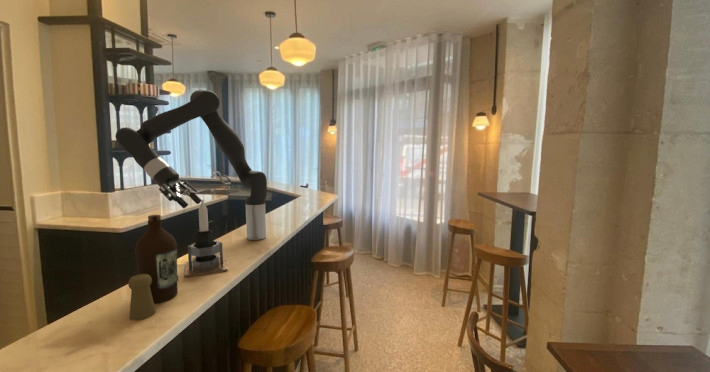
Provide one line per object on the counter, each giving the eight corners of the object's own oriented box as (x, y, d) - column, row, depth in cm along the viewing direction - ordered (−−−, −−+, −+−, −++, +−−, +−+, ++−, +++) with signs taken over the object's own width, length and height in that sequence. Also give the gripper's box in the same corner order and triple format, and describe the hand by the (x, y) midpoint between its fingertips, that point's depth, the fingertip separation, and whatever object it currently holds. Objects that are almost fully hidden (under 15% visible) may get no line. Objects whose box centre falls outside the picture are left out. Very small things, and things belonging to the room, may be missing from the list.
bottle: (215, 263, 123) (212, 198, 120) (208, 268, 118) (205, 201, 115) (203, 262, 124) (199, 198, 121) (195, 267, 119) (191, 200, 115)
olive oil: (130, 301, 94) (123, 218, 91) (161, 286, 104) (156, 211, 101) (157, 307, 91) (151, 221, 88) (187, 291, 101) (183, 213, 98)
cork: (136, 322, 83) (132, 282, 82) (124, 316, 86) (121, 276, 85) (160, 312, 88) (157, 274, 87) (148, 306, 91) (146, 269, 90)
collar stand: (186, 264, 124) (184, 241, 123) (225, 258, 130) (224, 237, 129) (184, 277, 112) (183, 252, 110) (227, 271, 118) (226, 247, 116)
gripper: (154, 166, 110) (188, 200, 111) (180, 164, 124) (210, 194, 125) (140, 182, 111) (174, 215, 112) (167, 178, 125) (197, 207, 126)
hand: (193, 204), depth 118 cm, fingers open, 8 cm apart
